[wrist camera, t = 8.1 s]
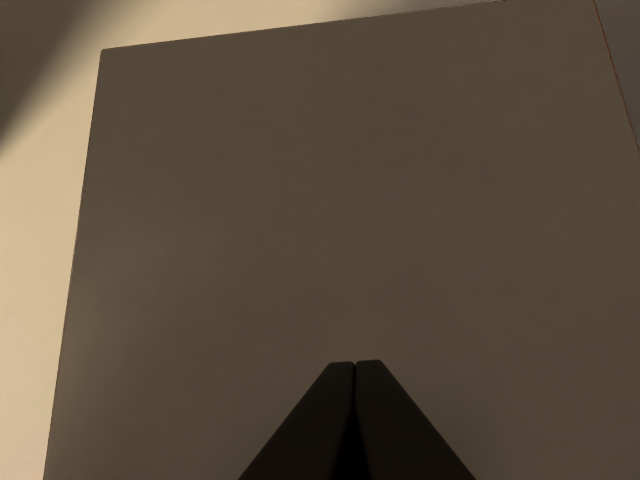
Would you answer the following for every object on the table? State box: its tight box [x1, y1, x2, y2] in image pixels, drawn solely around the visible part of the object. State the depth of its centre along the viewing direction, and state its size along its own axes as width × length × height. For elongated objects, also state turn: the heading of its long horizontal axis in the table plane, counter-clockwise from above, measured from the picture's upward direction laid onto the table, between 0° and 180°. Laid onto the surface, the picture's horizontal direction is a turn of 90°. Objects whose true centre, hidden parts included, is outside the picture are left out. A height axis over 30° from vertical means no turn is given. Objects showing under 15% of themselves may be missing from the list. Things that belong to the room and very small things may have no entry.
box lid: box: [43, 0, 640, 480], centre depth 11 cm, size 13×12×1 cm
